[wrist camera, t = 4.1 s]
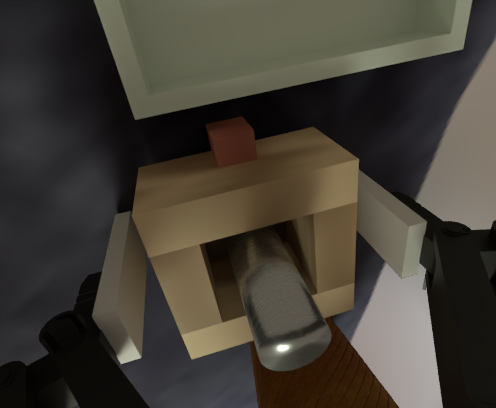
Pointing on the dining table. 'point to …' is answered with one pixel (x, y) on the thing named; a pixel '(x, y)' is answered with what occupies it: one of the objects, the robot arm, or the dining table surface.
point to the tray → (265, 44)
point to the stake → (274, 297)
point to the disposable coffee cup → (322, 380)
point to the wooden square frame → (247, 223)
